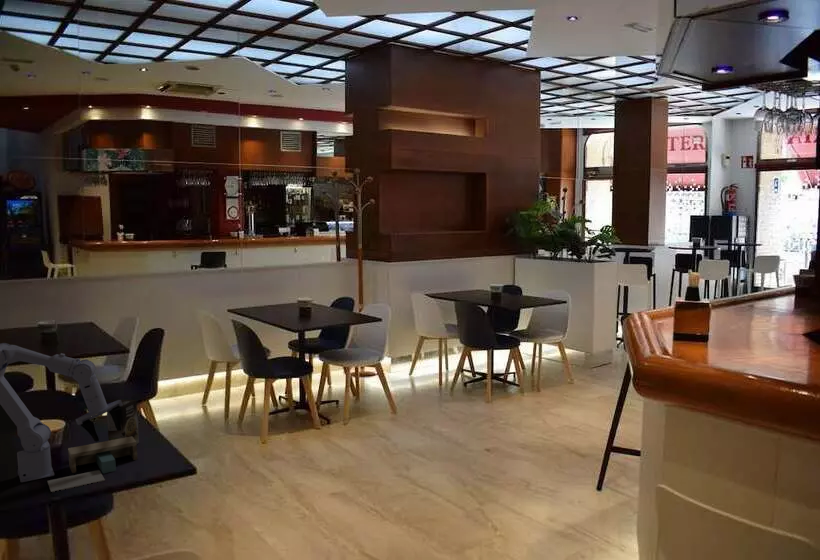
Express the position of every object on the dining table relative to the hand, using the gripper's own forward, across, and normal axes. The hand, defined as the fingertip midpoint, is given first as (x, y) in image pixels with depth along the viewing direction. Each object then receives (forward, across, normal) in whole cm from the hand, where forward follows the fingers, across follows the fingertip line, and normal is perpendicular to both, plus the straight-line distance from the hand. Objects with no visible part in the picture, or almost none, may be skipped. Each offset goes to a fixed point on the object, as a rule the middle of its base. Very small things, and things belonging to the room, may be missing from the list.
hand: (108, 435), depth 224 cm
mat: (+9, -14, -1) cm, 16 cm away
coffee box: (+11, +10, +19) cm, 24 cm away
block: (+10, -3, +5) cm, 12 cm away
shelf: (+10, -2, +8) cm, 13 cm away
